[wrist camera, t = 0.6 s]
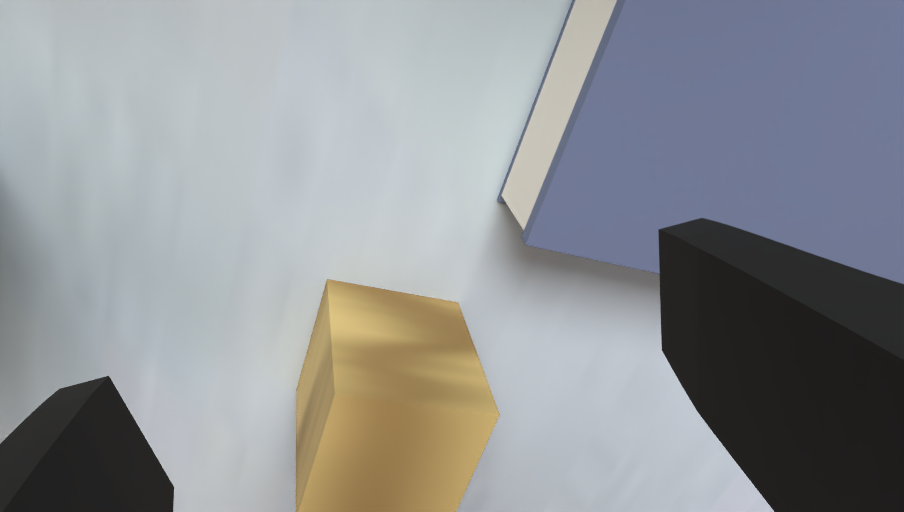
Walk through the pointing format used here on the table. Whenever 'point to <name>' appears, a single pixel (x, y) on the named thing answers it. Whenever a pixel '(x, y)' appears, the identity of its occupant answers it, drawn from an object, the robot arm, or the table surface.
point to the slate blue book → (718, 129)
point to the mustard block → (389, 404)
